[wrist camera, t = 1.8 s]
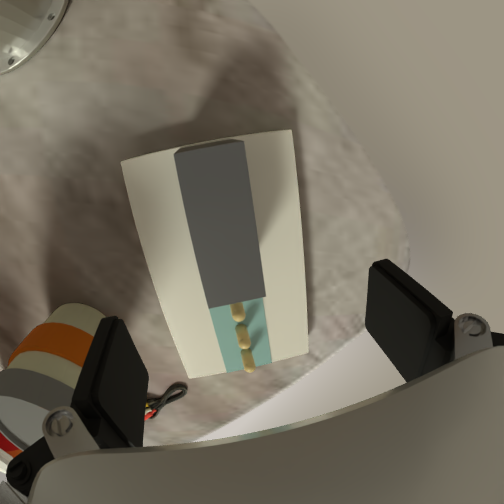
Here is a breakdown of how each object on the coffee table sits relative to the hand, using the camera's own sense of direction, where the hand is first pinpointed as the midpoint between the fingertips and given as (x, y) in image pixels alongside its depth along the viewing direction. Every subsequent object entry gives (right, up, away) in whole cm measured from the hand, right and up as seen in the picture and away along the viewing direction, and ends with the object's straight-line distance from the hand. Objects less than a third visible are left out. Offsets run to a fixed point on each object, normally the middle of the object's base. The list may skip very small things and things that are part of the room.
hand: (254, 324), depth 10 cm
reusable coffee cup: (-19, -7, +19) cm, 28 cm away
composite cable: (-13, -17, +25) cm, 33 cm away
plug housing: (-3, +6, +14) cm, 15 cm away
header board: (-2, +1, +18) cm, 18 cm away
